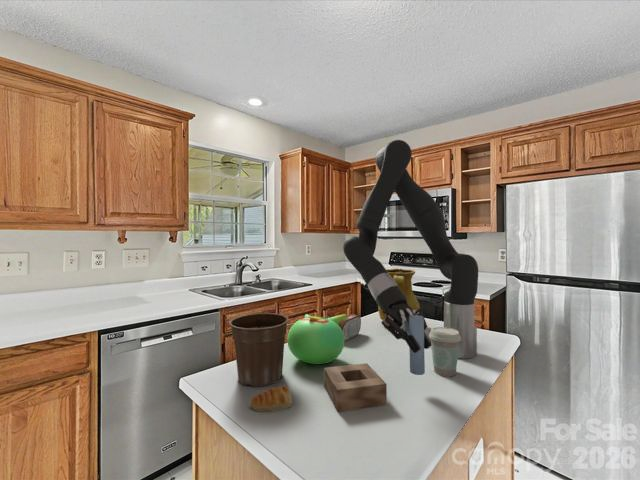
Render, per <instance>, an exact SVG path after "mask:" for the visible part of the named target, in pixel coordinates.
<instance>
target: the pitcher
mask: <svg viewBox="0 0 640 480" xmlns="http://www.w3.org/2000/svg"><path fill="white" fill-rule="evenodd" d="M385 269H386V271H387V272H388V274H389V275H390V276H391V277H392V278H393V279H394V281H395V282H396V283H397V285H398V286H399V288H400V289H401V291H402V292H403V294H404V295H405V296H406V298H407V304H408V306H410V307H411V308H412V310H417V309H421V306H420V303H419V301H418V299H417V297H416V296H415V294H414V291H413V286H412V285H413V284H412V282H413V281H412V278H413V277H414V275H416V271H415V270H414V269H404V268H392V269H391V268H390V269H387V268H385ZM377 308H378V309H377V311H378V315H379V318H380V320H381V321H383V320H384V319H385V317H386V314H384V313H383V312H382V310H381V309H380V307H379V305H378V304H377ZM394 330H395V329H394ZM395 331H396V330H395ZM396 332H397V331H396ZM404 332H405V330H404Z"/></svg>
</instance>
